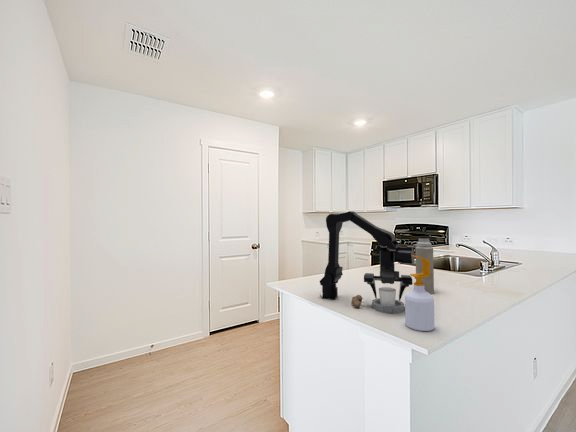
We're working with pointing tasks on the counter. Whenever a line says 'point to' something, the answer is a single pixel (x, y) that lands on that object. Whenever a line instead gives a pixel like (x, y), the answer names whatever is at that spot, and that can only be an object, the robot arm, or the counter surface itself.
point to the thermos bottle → (426, 252)
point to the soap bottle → (420, 302)
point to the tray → (387, 309)
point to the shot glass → (387, 296)
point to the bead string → (356, 301)
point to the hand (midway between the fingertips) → (387, 299)
